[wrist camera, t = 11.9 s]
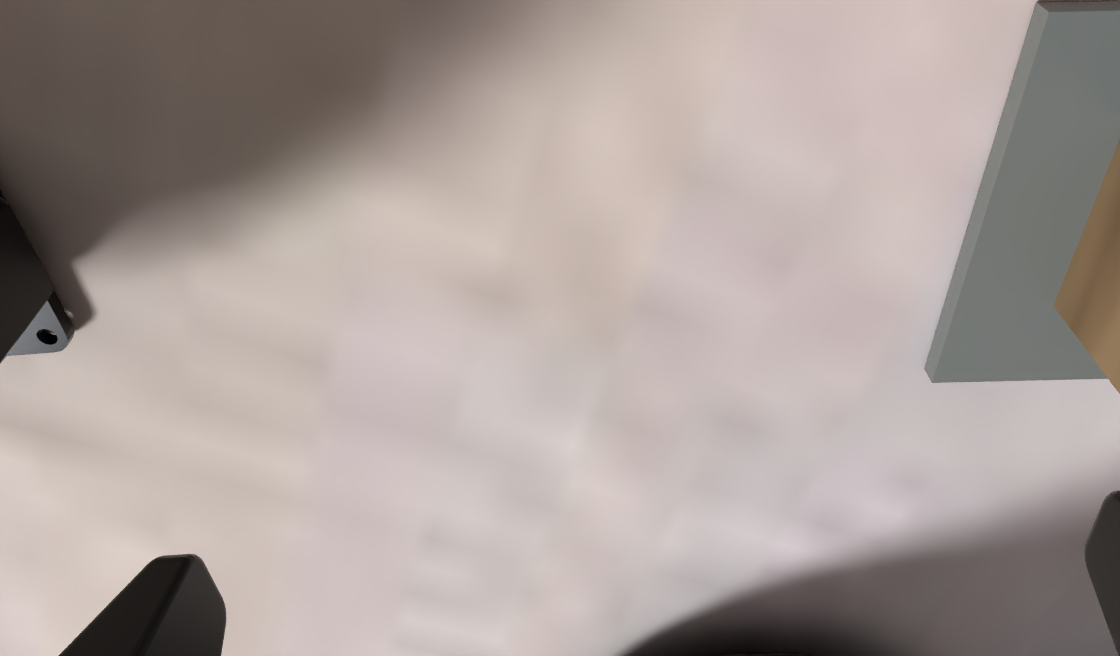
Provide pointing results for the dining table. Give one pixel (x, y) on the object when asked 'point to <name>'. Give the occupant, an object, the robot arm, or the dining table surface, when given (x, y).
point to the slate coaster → (1035, 205)
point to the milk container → (776, 655)
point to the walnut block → (1097, 279)
